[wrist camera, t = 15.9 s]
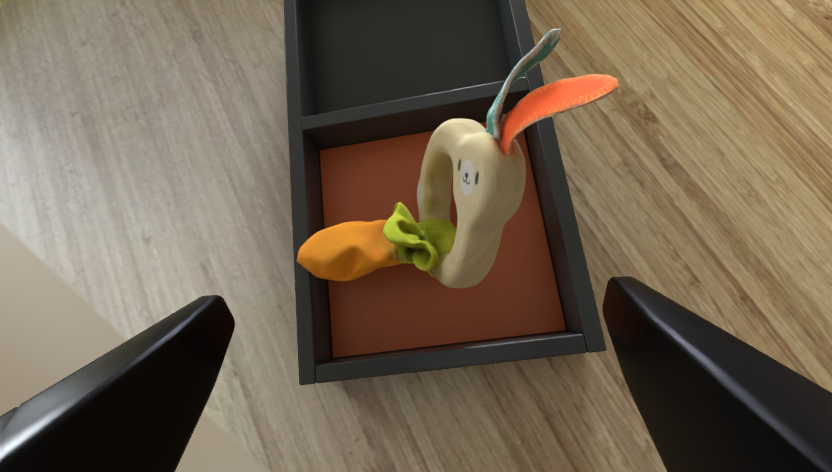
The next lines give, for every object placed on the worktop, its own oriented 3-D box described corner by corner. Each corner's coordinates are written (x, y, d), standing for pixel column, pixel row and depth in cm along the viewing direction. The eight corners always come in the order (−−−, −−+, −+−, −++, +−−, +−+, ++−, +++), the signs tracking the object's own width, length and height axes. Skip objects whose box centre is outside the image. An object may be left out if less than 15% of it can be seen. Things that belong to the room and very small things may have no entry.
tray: (493, -61, 24) (498, -113, 21) (583, 344, 18) (607, 350, 15) (300, -20, 25) (279, -64, 22) (323, 375, 19) (298, 385, 16)
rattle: (332, 143, 19) (318, -107, 8) (474, 181, 20) (622, 0, 10) (293, 276, 17) (204, 163, 6) (455, 310, 18) (623, 266, 7)
